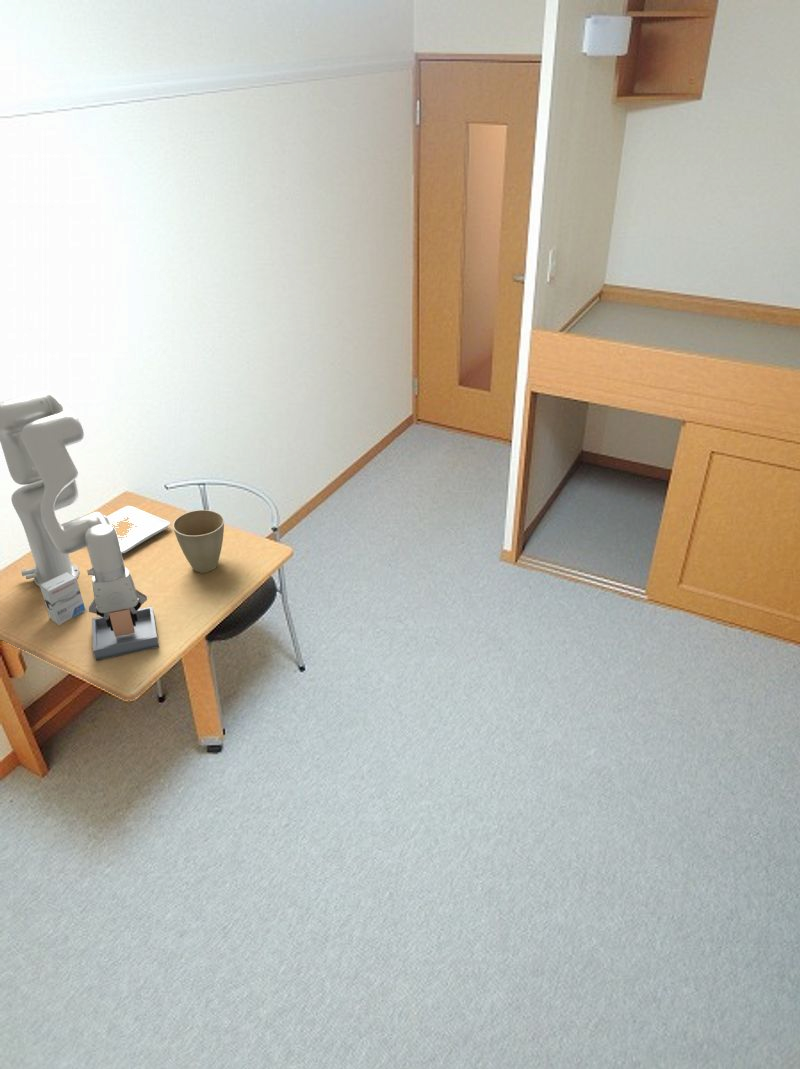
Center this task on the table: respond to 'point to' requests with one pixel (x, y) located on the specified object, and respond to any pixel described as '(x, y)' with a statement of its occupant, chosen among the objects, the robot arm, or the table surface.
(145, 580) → the table surface
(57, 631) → the table surface
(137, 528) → the salad plate
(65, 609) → the ink box
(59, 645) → the table surface
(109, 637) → the tray
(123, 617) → the terracotta block
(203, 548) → the plant pot
